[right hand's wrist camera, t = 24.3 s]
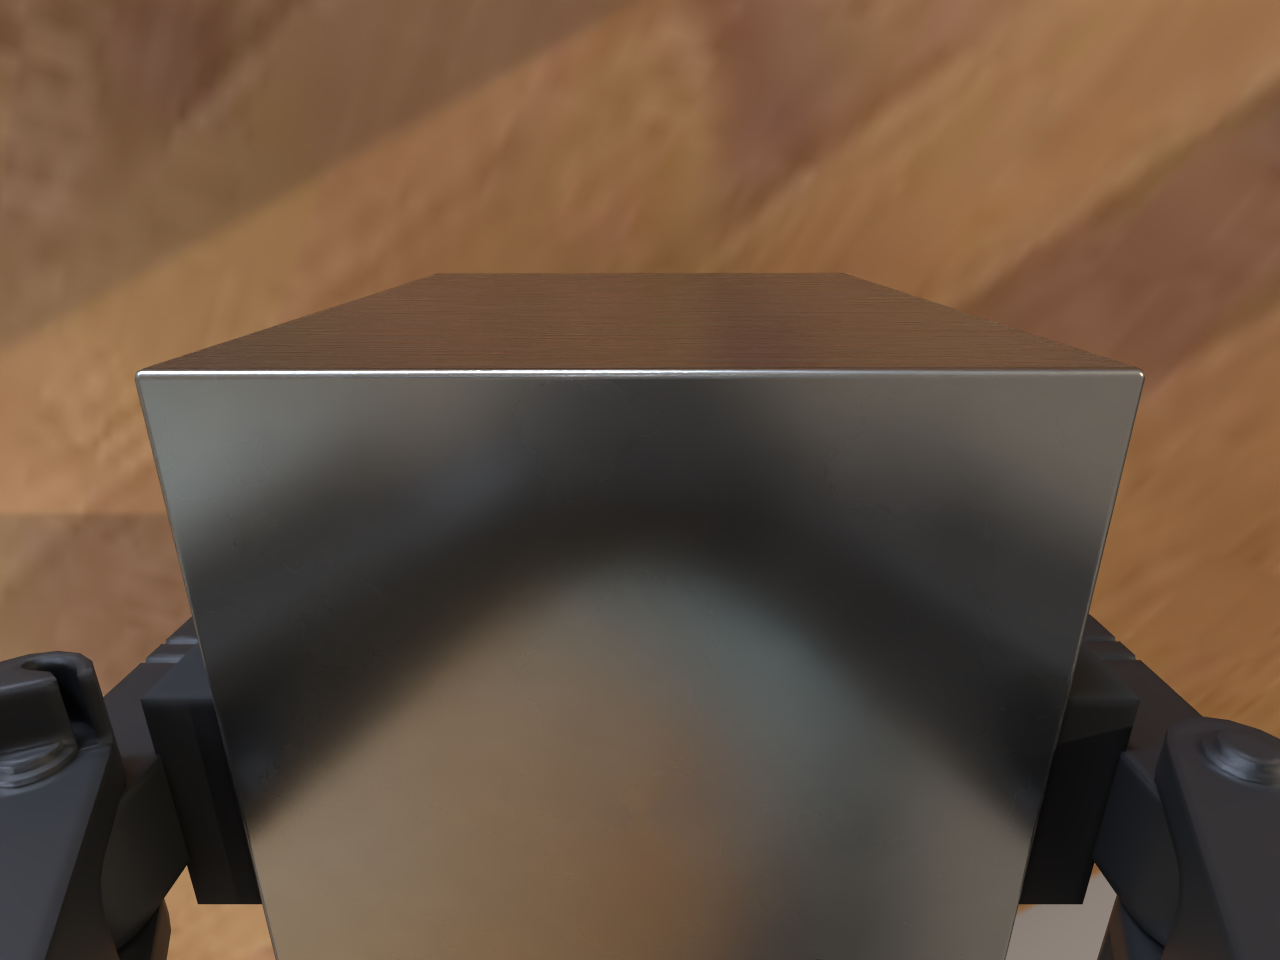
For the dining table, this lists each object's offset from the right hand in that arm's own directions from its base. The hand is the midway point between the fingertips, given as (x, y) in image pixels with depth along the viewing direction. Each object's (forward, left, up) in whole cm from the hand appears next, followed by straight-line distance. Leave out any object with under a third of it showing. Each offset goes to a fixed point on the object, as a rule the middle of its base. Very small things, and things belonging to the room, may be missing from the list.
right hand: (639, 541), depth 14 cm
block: (0, 0, -3) cm, 3 cm away
